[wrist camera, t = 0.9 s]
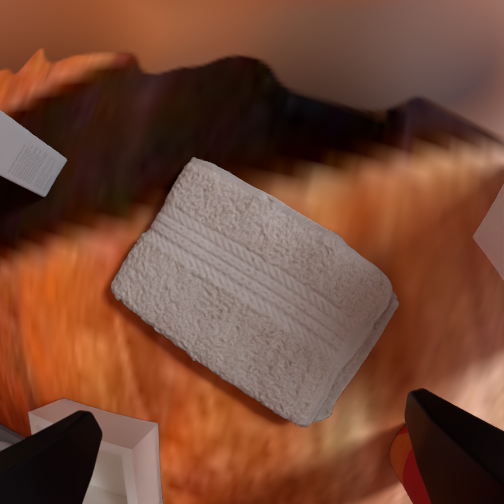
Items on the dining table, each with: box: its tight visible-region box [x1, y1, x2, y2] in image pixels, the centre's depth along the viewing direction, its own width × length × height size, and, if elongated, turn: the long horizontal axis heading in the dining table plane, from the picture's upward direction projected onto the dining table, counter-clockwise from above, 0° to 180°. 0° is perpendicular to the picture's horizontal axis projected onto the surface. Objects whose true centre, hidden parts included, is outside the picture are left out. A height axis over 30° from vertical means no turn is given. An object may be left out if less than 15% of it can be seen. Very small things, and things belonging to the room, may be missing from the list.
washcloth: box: [111, 158, 399, 427], centre depth 20 cm, size 12×18×3 cm, turn 58°
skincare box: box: [0, 111, 67, 197], centre depth 18 cm, size 6×4×12 cm
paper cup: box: [389, 425, 431, 504], centre depth 12 cm, size 8×8×14 cm
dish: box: [28, 398, 163, 504], centre depth 17 cm, size 9×9×5 cm
